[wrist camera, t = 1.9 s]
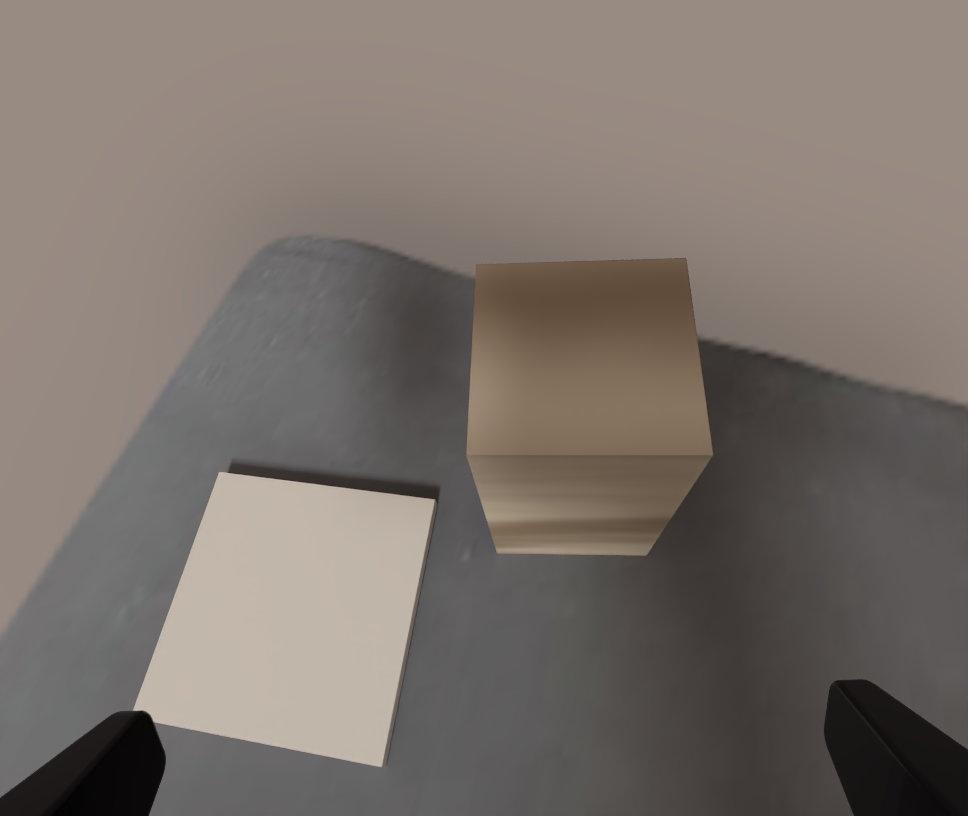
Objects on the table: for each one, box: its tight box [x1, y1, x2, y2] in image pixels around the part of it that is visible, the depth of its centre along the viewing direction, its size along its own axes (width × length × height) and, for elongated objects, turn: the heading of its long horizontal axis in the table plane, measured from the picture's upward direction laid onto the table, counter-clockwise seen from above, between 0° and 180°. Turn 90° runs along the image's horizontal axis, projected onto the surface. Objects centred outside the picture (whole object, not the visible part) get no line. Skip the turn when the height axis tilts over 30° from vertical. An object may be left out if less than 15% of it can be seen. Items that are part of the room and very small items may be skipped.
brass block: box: [466, 258, 713, 555], centre depth 19 cm, size 6×6×10 cm
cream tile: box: [133, 472, 437, 767], centre depth 23 cm, size 9×9×1 cm
